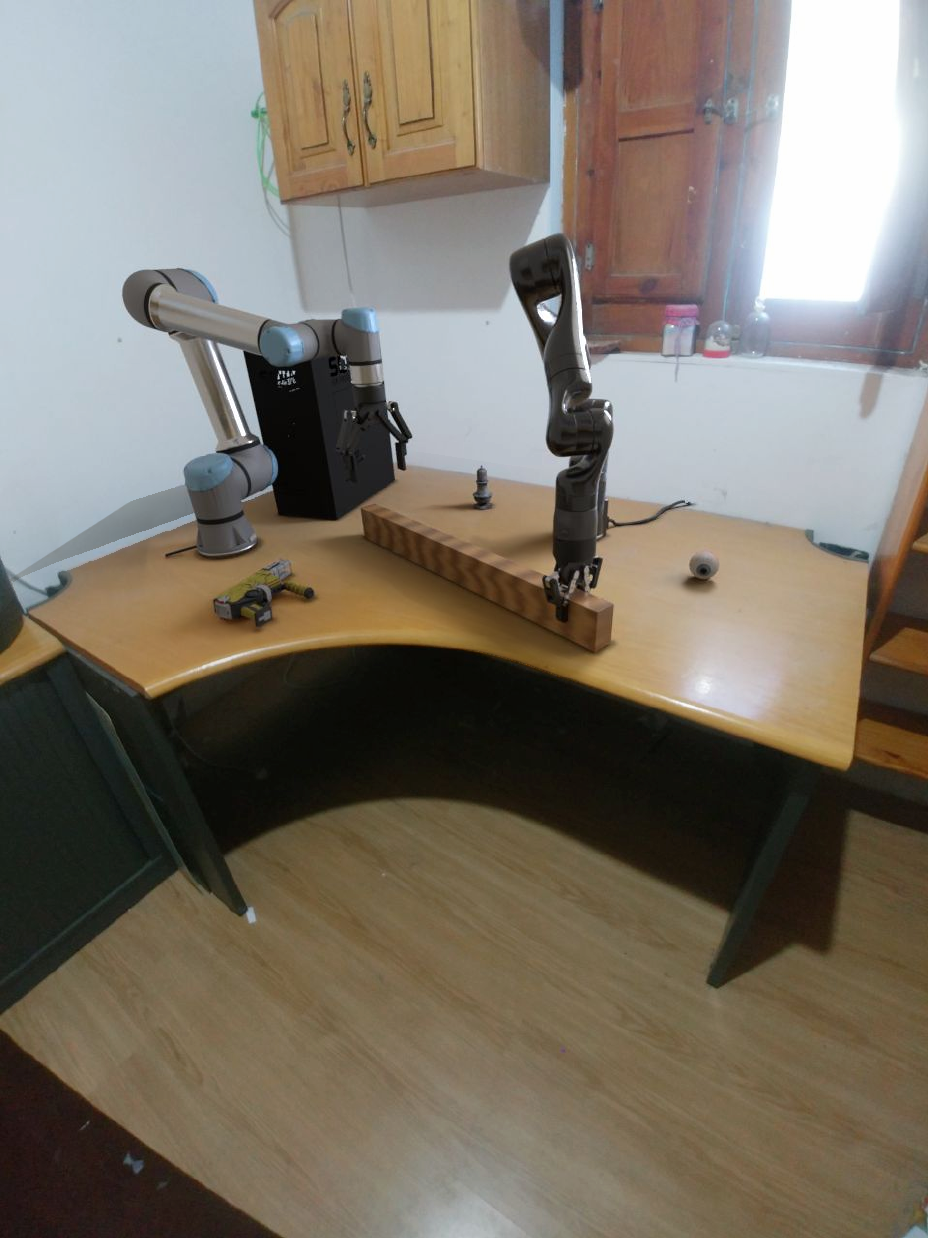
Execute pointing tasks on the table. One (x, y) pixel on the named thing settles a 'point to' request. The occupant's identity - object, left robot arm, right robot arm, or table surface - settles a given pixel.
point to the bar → (490, 576)
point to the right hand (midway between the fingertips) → (571, 615)
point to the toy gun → (258, 594)
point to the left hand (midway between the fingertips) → (379, 475)
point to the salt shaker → (482, 490)
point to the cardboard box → (315, 437)
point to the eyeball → (704, 564)
